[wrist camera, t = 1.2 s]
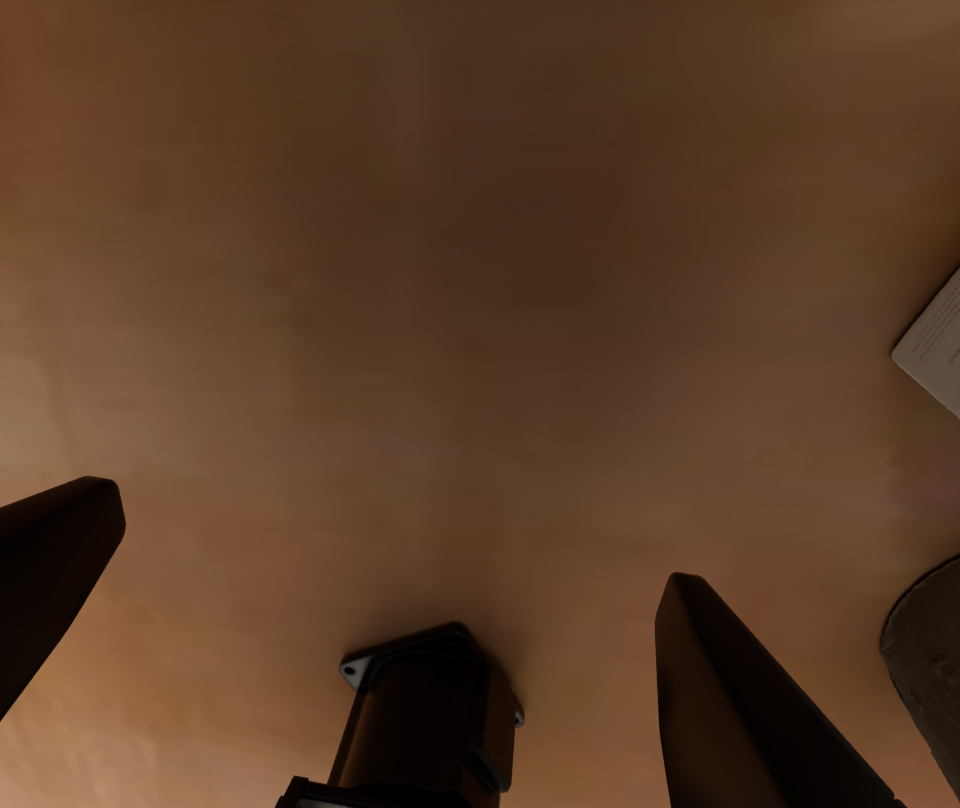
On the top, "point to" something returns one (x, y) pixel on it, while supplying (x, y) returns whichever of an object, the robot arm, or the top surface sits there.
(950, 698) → the pillar candle
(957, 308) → the white packaging box
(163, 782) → the top surface
